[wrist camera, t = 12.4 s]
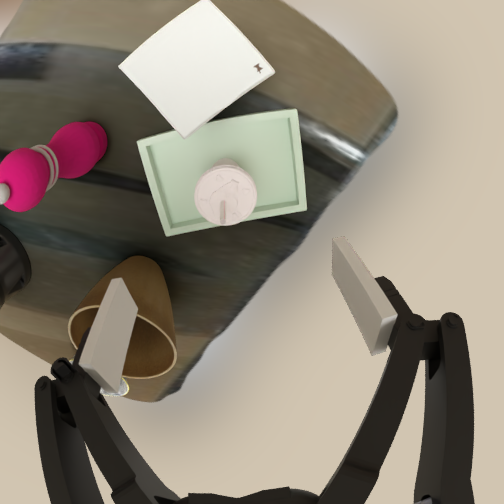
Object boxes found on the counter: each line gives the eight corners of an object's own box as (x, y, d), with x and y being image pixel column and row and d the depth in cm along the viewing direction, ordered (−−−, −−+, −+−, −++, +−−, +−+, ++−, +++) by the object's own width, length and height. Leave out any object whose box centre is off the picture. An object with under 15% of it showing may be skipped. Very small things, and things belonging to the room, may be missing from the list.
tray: (168, 228, 39) (166, 236, 37) (142, 138, 32) (136, 141, 30) (302, 203, 39) (306, 210, 37) (292, 108, 32) (296, 109, 30)
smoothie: (193, 181, 35) (177, 231, 24) (215, 139, 32) (208, 167, 21) (235, 201, 37) (240, 258, 26) (258, 161, 35) (277, 201, 23)
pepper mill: (120, 137, 31) (34, 188, 14) (93, 176, 34) (13, 251, 17) (85, 108, 28) (-16, 139, 11) (61, 148, 30) (-32, 206, 14)
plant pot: (152, 317, 49) (138, 389, 36) (89, 271, 42) (54, 339, 29) (205, 274, 45) (201, 354, 31) (135, 216, 38) (96, 284, 24)
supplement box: (214, 32, 25) (208, -8, 13) (257, 81, 30) (281, 72, 17) (157, 75, 28) (113, 65, 15) (200, 123, 32) (184, 142, 19)
